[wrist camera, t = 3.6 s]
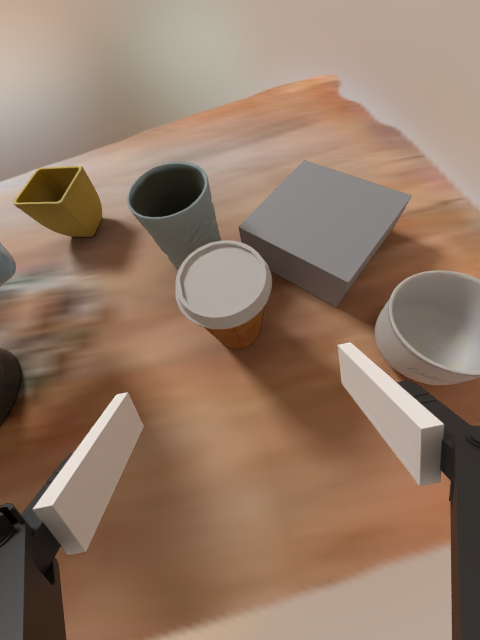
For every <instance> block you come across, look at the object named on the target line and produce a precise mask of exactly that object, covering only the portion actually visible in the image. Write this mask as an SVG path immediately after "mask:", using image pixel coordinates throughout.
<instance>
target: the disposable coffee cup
mask: <svg viewBox="0 0 480 640" xmlns="http://www.w3.org/2000/svg"><path fill="white" fill-rule="evenodd" d="M271 289H272V276H271V272H270V269H269V267H268V265H267V263H266V262H265V261H264V259H263V258H262V257H261V256H260V255H259V253H258V252H257V251H255V250H254V249H253V248H252V247H250V246H248V245H246V244H244V243H241V242H237V241H217V242H212V243H209V244H206V245H204V246H202V247H200V248H198V249H197V250H195V251H194V252H192V253H191V254H190V255H189V256H188V257H187V258H186V259H185V260H184V261H183V263H182V264H181V266H180V268H179V270H178V273H177V277H176V291H175V293H176V300H177V303H178V306H179V308H180V310H181V311H182V313H183V314H184V315H185V316H186V317H187V318H188V319H189V320H191V321H192V322H194V323H195V324H197V325H199V326H202V327H204V328H205V329H207V330H208V331H209V332H210V333H211V334H212V335H213V336H215V337H216V338H217V339H218V340H219V341H220V342H221V343H223V344H224V345H225V346H227V347H230V348H235V349H239V348H244V347H247V346H249V345H251V344H252V343H253V342H254V341H255V340H256V339H257V338H258V336H259V334H260V331H261V325H262V319H263V313H264V308H265V304H266V303H267V301H268V298H269V296H270V293H271Z"/></svg>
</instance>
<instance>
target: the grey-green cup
mask: <svg viewBox="0 0 480 640" xmlns="http://www.w3.org/2000/svg"><path fill="white" fill-rule="evenodd" d="M127 201H128V207H129V209H130V211H131V212H132V213H133V214H134V216H135V217H136V218H137V219H138V221H139V222H140V223H141V224H142V225H143V227H144V228H145V229H146V230H147V231H148V233H149V234H150V235H151V236H152V237H153V239H154V240H155V242H156V243H157V244H158V246H159V247H160V248H161V250H162V251H163V252H164V253H165V254H167V256H168V258H169V260H170V261H171V262H172V263H173V265H174V266H175V267H176V268H177V269H178V270H179V268H180V266H181V264H182V263H183V261H184V260H185V259H186V258H187V257H188V256H189V255H190V254H191V253H192V252H194V251H195V250H197V249H198V248H200V247H202V246H204V245H206V244H209V243H212V242H217V241H221V238H220V235H219V230H218V225H217V222H216V217H215V210H214V206H213V203H212V202H211V192H210V187H209V182H208V178H207V175H206V173H205V172H204V171H203V170H202V168H200V167H199V166H197V165H195V164H192V163H189V162H172V163H166V164H162V165H160V166H157V167H155V168H153V169H151V170H149V171H147V172H146V173H144V174H143V175H142V176H140V177H139V178H138V179H137V180H136V181H135V183H134V184H133V185H132V187H131V188H130V191H129V193H128V198H127Z"/></svg>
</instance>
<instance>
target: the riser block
mask: <svg viewBox="0 0 480 640" xmlns="http://www.w3.org/2000/svg"><path fill="white" fill-rule="evenodd" d="M411 197H412V195H409V194H406V193H403V192H400V191H397V190H393V189H390V188H387V187H384V186H381V185H378V184H375V183H372V182H369V181H366V180H363V179H360V178H357V177H354V176H351V175H348V174H345V173H342V172H339V171H336V170H333V169H330V168H327V167H324V166H321V165H318V164H315V163H312V162H309V161H306V160H304V161H303V162H302V163H301V164H300V165H299V166H298V167H297V168H296V169H295V170H294V171H293V172H292V173H291V174H290V175H289V176H288V177H287V178H286V179H285V180H284V181H283V182H282V183H281V184H280V185H279V186H278V187H277V189H276V190H275V191H274V192H273V193H272V194H271V195H270V196H269V197H268V198H267V199H266V200H265V201H264V202H263V203H262V204H261V205H260V206H259V207H258V208H257V209H256V210H255V211H254V212H253V213H252V214H251V215H250V216H249V217H248V218H247V219H246V220H245V221H244V222H243V223H242V224H241V225H240V226H239V231H240V237H241V242H242V243H244V244H246V245H248V246H250V247H252V248H253V249H254V250H255V251H257V252H258V253H259V255H260V256H261V257H262V258H263V259H264V261H265V262H266V263H267V265H268V267H269V269H270V271H271V272H273V273H275V274H277V275H279V276H280V277H282V278H284V279H286V280H288V281H289V282H291V283H293V284H295V285H297V286H298V287H300V288H302V289H304V290H306V291H307V292H309V293H311V294H313V295H315V296H316V297H318V298H320V299H322V300H324V301H325V302H327V303H329V304H331V305H332V306H334V307H337V306H338V304H339V303H340V302H341V300H342V299H343V297H344V296H345V295H346V293H347V292H348V291H349V289H350V288H351V286H352V285H353V284H354V282H355V281H356V280H357V278H358V277H359V275H360V274H361V273H362V271H363V270H364V268H365V267H366V266H367V264H368V263H369V262H370V260H371V259H372V257H373V256H374V255H375V253H376V252H377V250H378V249H379V248H380V246H381V245H382V244H383V242H384V241H385V239H386V238H387V237H388V235H389V234H390V233H391V231H392V229H393V228H394V226H395V224H396V223H397V221H398V219H399V217H400V216H401V214H402V212H403V210H404V209H405V207H406V205H407V204H408V202H409V200H410V198H411Z"/></svg>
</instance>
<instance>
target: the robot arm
mask: <svg viewBox="0 0 480 640" xmlns="http://www.w3.org/2000/svg"><path fill="white" fill-rule="evenodd" d="M15 271H16V263H15V261H14V259H13V257H12V256H11V254H10V253H9V252H8V251H7V249H6V248H5V247H4V246H3V245H2V244H1V243H0V286H1V285H3V284H4V283H5V282H6V281H8V280H9V279H10V278H11V277H12V276H13V275H14V273H15ZM338 354H339V363H340V373H341V382H342V385H343V386H344V387H345V389H346V390H347V391H348V392H349V394H350V395H351V396H352V398H353V399H354V400H355V402H356V403H357V404H358V406H359V407H360V408H361V410H362V411H363V412H364V413H365V415H366V416H367V417H368V419H369V420H370V421H371V423H372V424H373V425H374V427H375V428H376V429H377V431H378V432H379V433H380V435H381V436H382V437H383V438H384V440H385V441H386V442H387V444H388V445H389V446H390V448H391V449H392V450H393V452H394V453H395V454H396V456H397V457H398V458H399V459H400V461H401V462H402V463H403V465H404V466H405V467H406V469H407V470H408V471H409V473H410V474H411V475H412V477H413V478H414V479H415V480H416V482H417V483H418V484H419V486H423V485H428V484H433V483H438V482H441V471H442V472H443V473H444V474H445V475H446V476H447V477H448V478H449V479H450V480H451V484H450V496H449V501H450V502H451V580H452V581H451V584H452V640H480V427H479V426H471V425H469V424H468V423H466V422H465V421H464V420H463V419H461V418H460V417H459V416H458V415H456V414H455V413H454V412H452V411H451V410H450V409H449V408H447V407H446V406H445V405H443V404H442V403H441V402H440V401H437V399H436V398H435V397H433V396H432V395H430V394H429V393H428V392H427V391H426V390H424V389H423V388H422V387H420V386H419V385H417V384H414V383H412V382H410V381H408V380H406V381H401V382H395V381H394V380H393V379H392V378H391V377H389V376H388V375H387V374H386V373H385V372H384V371H383V370H381V369H380V368H379V367H378V366H377V365H376V364H375V363H373V362H372V361H371V360H370V359H369V358H368V357H367V356H365V355H364V354H363V353H362V352H361V351H360V350H359V349H357V348H356V347H355V346H354V345H353V344H352V343H351V342H349V343H345V344H340V345H338ZM19 384H20V368H19V364H18V362H17V360H16V358H15V357H14V355H13V354H12V353H10V352H9V351H7V350H5V349H2V348H0V424H1V423H2V422H3V420H4V419H5V417H6V416H7V414H8V413H9V411H10V409H11V407H12V405H13V403H14V401H15V398H16V395H17V392H18V389H19ZM143 427H144V426H143V423H142V421H141V419H140V417H139V415H138V413H137V410H136V408H135V406H134V404H133V402H132V400H131V397H130V395H129V393H128V392H126V393H122V394H117V395H116V396H115V397H114V398H113V400H112V401H111V403H110V404H109V405H108V407H107V408H106V409H105V411H104V412H103V414H102V415H101V416H100V418H99V419H98V420H97V422H96V423H95V424H94V426H93V427H92V429H91V430H90V431H89V433H88V434H87V435H86V437H85V438H84V439H83V441H82V442H81V444H80V445H79V446H78V448H77V449H76V450H75V452H74V453H71V454H70V455H69V456H68V457H67V458H66V459H65V460H64V461H62V462H61V463H60V465H59V466H58V467H57V469H56V470H55V471H54V473H53V475H52V476H51V477H50V478H49V479H48V481H47V482H46V485H44V486H43V487H42V488H41V490H40V491H39V492H38V494H37V495H36V496H35V498H34V499H33V500H32V502H31V503H30V504H29V506H28V507H27V508H26V510H25V511H24V512H23V514H22V515H21V514H20V513H19V512H18V510H17V509H16V508H15V507H14V505H13V504H10V503H7V504H3V505H0V640H66V632H65V622H64V613H63V603H62V593H61V583H60V573H59V564H58V561H57V559H56V558H55V555H56V554H57V552H58V550H59V548H60V546H61V547H62V549H63V550H64V551H65V553H66V554H67V555H73V554H78V553H83V552H86V551H87V549H88V546H89V544H90V542H91V540H92V538H93V536H94V533H95V531H96V529H97V527H98V525H99V523H100V520H101V518H102V516H103V514H104V512H105V510H106V507H107V505H108V503H109V501H110V499H111V497H112V494H113V492H114V490H115V488H116V486H117V484H118V482H119V479H120V477H121V475H122V473H123V471H124V469H125V466H126V464H127V462H128V460H129V458H130V456H131V453H132V451H133V449H134V447H135V445H136V443H137V440H138V438H139V436H140V434H141V432H142V430H143Z"/></svg>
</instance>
